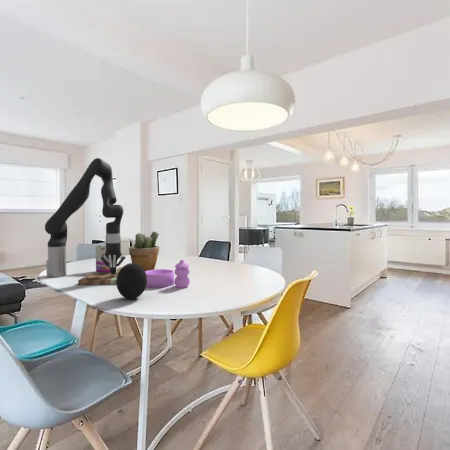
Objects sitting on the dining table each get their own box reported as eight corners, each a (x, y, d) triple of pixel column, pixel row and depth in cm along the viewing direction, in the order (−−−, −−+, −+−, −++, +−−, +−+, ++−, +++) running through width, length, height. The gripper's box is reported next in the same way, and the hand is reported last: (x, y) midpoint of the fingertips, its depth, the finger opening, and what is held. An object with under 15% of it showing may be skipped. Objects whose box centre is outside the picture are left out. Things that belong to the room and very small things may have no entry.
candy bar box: (116, 271, 189) (115, 245, 189) (110, 272, 184) (110, 246, 184) (101, 270, 192) (100, 244, 192) (95, 271, 188) (95, 245, 187)
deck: (78, 285, 152) (78, 275, 152) (91, 277, 170) (91, 268, 170) (127, 284, 154) (126, 274, 154) (134, 276, 172) (134, 268, 172)
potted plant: (141, 276, 174) (140, 233, 174) (122, 272, 186) (121, 231, 185) (165, 271, 189) (165, 231, 188) (146, 268, 200) (146, 230, 199)
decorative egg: (110, 299, 126) (109, 263, 126) (134, 293, 137) (133, 260, 136) (129, 304, 119) (129, 266, 119) (153, 297, 130) (152, 262, 129)
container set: (137, 286, 151) (136, 259, 150) (155, 280, 165) (155, 256, 164) (180, 291, 141) (180, 263, 140) (196, 284, 155) (196, 258, 154)
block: (117, 276, 160) (116, 268, 160) (119, 275, 165) (119, 266, 165) (126, 276, 161) (126, 268, 160) (128, 274, 166) (128, 266, 165)
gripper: (98, 242, 157) (98, 275, 158) (124, 242, 158) (124, 275, 159) (102, 241, 165) (102, 272, 166) (127, 241, 166) (127, 272, 167)
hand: (113, 274), depth 162 cm, fingers closed
